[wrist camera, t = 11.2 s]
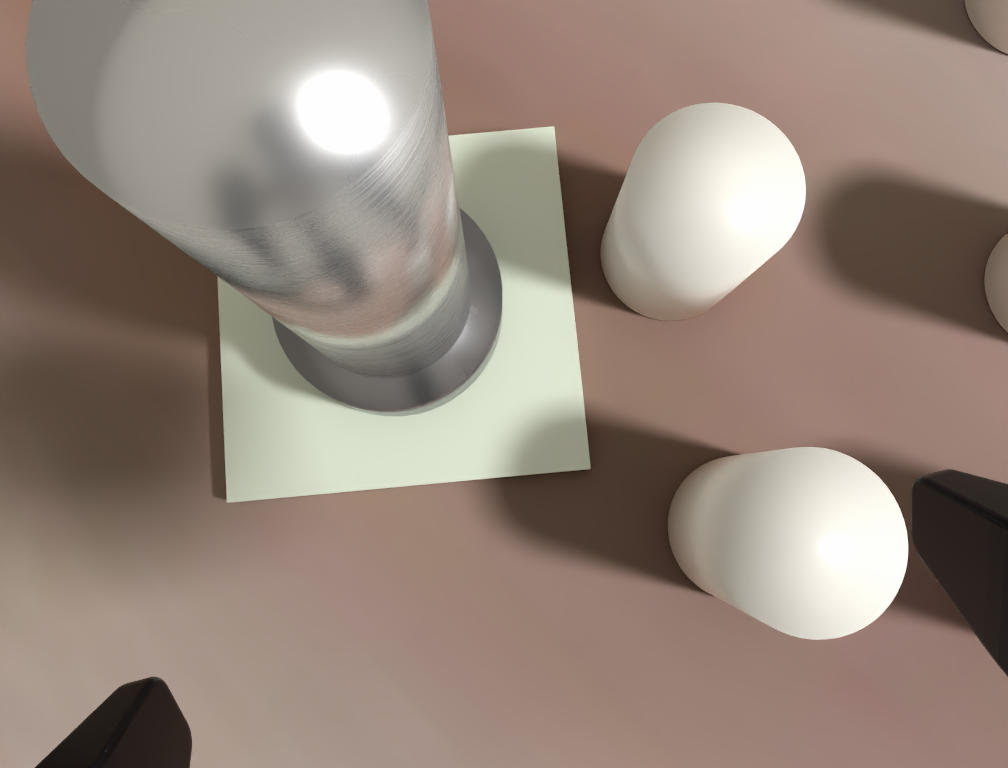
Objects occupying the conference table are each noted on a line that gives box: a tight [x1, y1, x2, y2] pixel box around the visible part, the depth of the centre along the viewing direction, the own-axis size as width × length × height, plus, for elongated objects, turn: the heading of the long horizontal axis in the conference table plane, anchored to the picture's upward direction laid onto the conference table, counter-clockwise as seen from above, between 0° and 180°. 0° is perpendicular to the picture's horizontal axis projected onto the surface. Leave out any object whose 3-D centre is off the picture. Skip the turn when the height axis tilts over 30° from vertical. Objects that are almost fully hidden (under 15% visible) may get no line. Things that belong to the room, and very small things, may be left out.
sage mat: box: [217, 126, 591, 503], centre depth 21 cm, size 10×10×1 cm
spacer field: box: [600, 0, 1008, 640], centre depth 19 cm, size 21×16×5 cm
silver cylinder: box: [26, 0, 502, 416], centre depth 15 cm, size 6×6×13 cm
